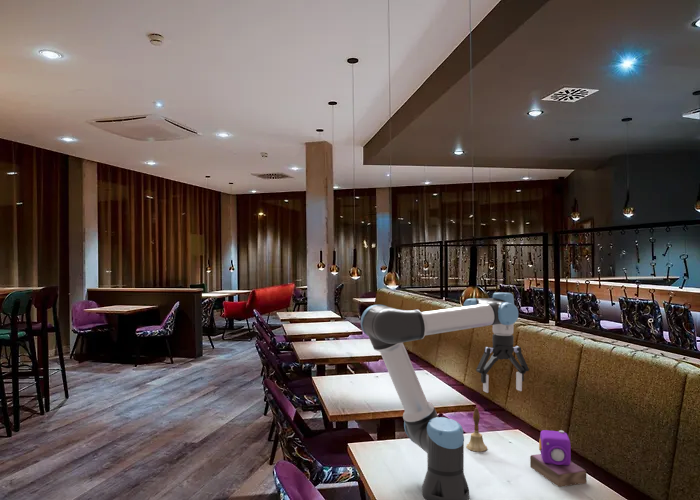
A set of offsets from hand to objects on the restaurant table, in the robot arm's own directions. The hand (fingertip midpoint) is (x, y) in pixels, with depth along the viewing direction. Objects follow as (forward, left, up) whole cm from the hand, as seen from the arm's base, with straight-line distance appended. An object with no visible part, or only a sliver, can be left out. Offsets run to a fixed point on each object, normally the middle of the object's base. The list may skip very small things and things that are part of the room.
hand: (502, 391), depth 182 cm
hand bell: (-1, +17, -28) cm, 33 cm away
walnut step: (+15, -12, -28) cm, 33 cm away
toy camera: (+14, -12, -23) cm, 30 cm away
